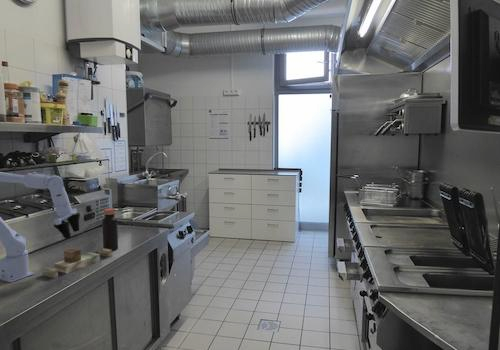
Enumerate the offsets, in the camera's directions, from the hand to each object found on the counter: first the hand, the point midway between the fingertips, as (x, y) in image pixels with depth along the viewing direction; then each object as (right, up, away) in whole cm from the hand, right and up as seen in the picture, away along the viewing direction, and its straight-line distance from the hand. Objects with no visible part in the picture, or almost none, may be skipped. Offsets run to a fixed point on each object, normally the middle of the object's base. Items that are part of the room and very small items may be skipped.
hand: (72, 234), depth 148 cm
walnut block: (-1, -11, +1) cm, 11 cm away
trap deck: (+1, -14, +5) cm, 15 cm away
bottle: (+6, -12, +26) cm, 29 cm away
